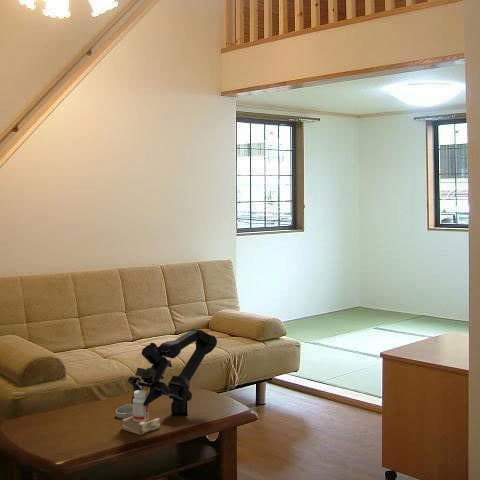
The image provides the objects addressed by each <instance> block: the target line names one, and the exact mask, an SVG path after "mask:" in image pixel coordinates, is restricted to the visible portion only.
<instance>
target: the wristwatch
mask: <svg viewBox="0 0 480 480" xmlns="http://www.w3.org/2000/svg"><path fill="white" fill-rule="evenodd" d="M115 414H116V418H119V419H126V418H129V417H132V416H133V404H132V403H128V404H127V403H126V404H124V405H122V406H120V407H118V408H116V410H115Z"/></svg>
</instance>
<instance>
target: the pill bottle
mask: <svg viewBox="0 0 480 480" xmlns="http://www.w3.org/2000/svg"><path fill="white" fill-rule="evenodd" d="M147 396H148V392H147V390H144V389H142V390H137V391H134V397H135V398H134V399H133V403H132V406H133V420H134V421H136V422H148V421H149V419H150V410H149V409H150V407H149V405H150V403H149V404H148V405H147V406H144V405H143V404H144V402H145V400H146V398H147Z"/></svg>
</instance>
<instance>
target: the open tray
mask: <svg viewBox="0 0 480 480" xmlns="http://www.w3.org/2000/svg"><path fill="white" fill-rule="evenodd" d="M160 419H161V418H160V417H159V418H154V419H152V420H148V421H145V422H136V421H134V420H133V416H132V417H129V418H126V419H125V418H123V419H121V421H120V430H122V431H126V432H129V433H133V434H136V435H141V436H142V435H144V434H147V433H149V432H152V431H154V430H157V429H159V428H161V427H160V426H161V424H160V423H161V420H160Z"/></svg>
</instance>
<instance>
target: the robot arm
mask: <svg viewBox="0 0 480 480" xmlns="http://www.w3.org/2000/svg"><path fill="white" fill-rule="evenodd" d="M193 343H195V350H194V352H192V354H191V356H190V358H189V359H188V361H187V362H186V364H185V366H184V367H183V369H182V371H181V372H180V373H179V374H178V375H173V376H172V377H171V378H170V381H168V383H167V384H166V383H165V382H163V381H162V382H161V381H160V380H163V379H164V378H165V377H164V374H165V372H166V370H167V369H168V368H172V367H173V364H172V360H170V359H176V357H178V356H179V355H180V354H181V352H182V350H184V349H185V348H186V347H188V346H189V345H192V344H193ZM217 344H218V339H217V337H216V336H215V335H212V334H210V333H208V332H205V331H204V330H202V329H199V328H191V330H189V331H188V332H187V333H184V334H183V335H182V336H180V337H178V338H176V339H174V340H169V341H168V340H167V341H165V342H162V343H161V344H160V345H159V346H158V345H157V344H156V342H150V343H149V344H148V345H146V346H145V347H143V348H142V350H141V355H142V357H143V358H144V359H145V360H146V361H147V362H148V363H149V364H151V366H150V367H148V368H141V367H137V369H136V371H135V376H133V375H131V376H129V378H128V379H127V382H128V383H129V384H130V385H131V386H132V388H133V391H132V396H131V402H130V403H131V404H133V399H134V398H135V397H134V391H137V390H143V389H144V388H148V389H149V392H148V393H147V396H146V397H147V398H146V400H145V402H144V404H143V405H144V406H147V405H148V404H149V405H150V404H151V403H152V402H154V401H155V400H157V399H159V398H160V397H163V396H166V397H168V398H169V399H172V401H171V404H170V405H171V406H170V410H171V411H170V413H171V415H172V416H188V415H189V411H190V409H189V402H190V401H191V400H192V399H193V393H192V392H191V391H190V390H189V389H190V381H191V380H192V378H193V376H194V374H195V373H196V371H197V370H198V368H199V366H200V364H201V363H202V361H203V360H204V358H205V356H207V355H208V354H209V353H211V352H213V350H214V349H215V348H216V347H217Z"/></svg>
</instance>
